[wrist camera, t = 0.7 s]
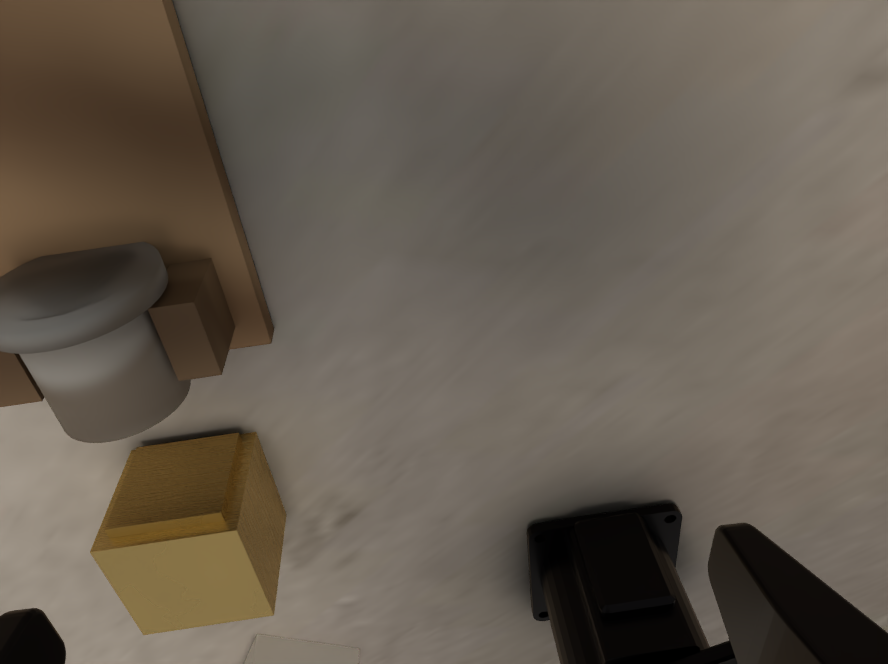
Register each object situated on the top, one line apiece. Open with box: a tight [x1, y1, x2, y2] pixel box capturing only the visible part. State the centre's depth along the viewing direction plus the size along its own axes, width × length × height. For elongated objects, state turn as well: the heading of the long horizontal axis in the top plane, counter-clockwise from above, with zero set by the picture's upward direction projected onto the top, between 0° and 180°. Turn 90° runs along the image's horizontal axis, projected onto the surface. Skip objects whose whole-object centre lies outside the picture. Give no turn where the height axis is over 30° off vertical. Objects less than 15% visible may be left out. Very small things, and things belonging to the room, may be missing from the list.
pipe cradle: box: [0, 0, 274, 443], centre depth 16 cm, size 15×8×5 cm, turn 6°
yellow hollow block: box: [90, 432, 286, 635], centre depth 24 cm, size 5×4×4 cm
